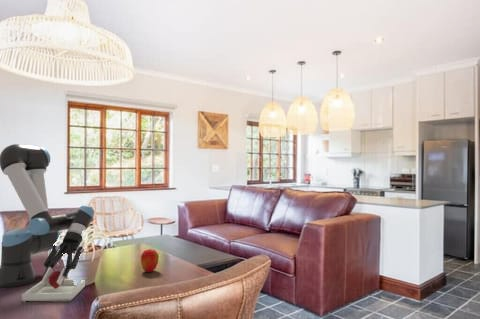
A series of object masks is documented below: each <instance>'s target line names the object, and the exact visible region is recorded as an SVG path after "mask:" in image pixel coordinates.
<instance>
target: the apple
mask: <svg viewBox="0 0 480 319" xmlns="http://www.w3.org/2000/svg"><path fill="white" fill-rule="evenodd" d="M159 257H160V256H159V253H158V252H157V250H155V249H146V250H144V251H143V252H142V254H141V256H140V264H141V267H142V270H143V271H145V273H151V272H153V271H155V270H156V268H157V266H158V264H159Z"/></svg>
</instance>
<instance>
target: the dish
mask: <svg viewBox="0 0 480 319" xmlns="http://www.w3.org/2000/svg"><path fill="white" fill-rule="evenodd" d="M70 279H71V278H64V282H63V284H62V285H61V286H59V287H58V288H57V289H55V288H53V287H52V286H51V285H50V284H49V280H48V282H47V284H46V285H44V284H43V283H42V282H41V281H39V282H38V283H37V284H35V285H33V286H32V287H31V288H30V289H28V290H26V291H25V292H23V293H21V302H22V301H53V302H71V301H72V300H73V299H74V298H75V297H76V296H77V295H78V294H79V293H80V292H81V291H82V290H83V289H84V288H85V287H86V286H85V280H81V281H80V282H79V283H78V284H77V285H74V283H73V282H74V281H73V280H70ZM53 302H52V303H53Z"/></svg>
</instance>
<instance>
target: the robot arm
mask: <svg viewBox="0 0 480 319" xmlns="http://www.w3.org/2000/svg"><path fill="white" fill-rule="evenodd" d="M50 163H51V155H50V153H49V151H48V150H47V149H46V148H45V147H43V146H42V147H41V146H38V145H27V144H26V145H25V144H17V143H14V144H10V145H8V146H6V147H5V148H3V150H1V152H0V170H1V171H2V173H3V174H4V176H7V177H8V179H9V181H10V183H11V185H12V187H13V189H14V190H15V192H16V194H17V196H18V198H19V199H20V202H21V204H22V206H23V208H24V209H25V211H26V213H27V215H28V220H29V222H28V225H27V227H25V228H24V227H22V228H21V227H20V228H16V229H12V230H8V231H6V232H5V233H4V234H3V235H2V238H1V239H2V241H1V243H0V244H1V256H0V259H1V260H0V288H12V287H13V288H14V287H18V286H24V285H27V284H30V283H32V282H34V281H35V280H36V273H35V270H34V267H33V264H32V256H33V255H37V254H40V253H45V252H49V251H50V252H49V255H48V256H47V258H46V260H45V262H44V263H43V266H44V267H45V268H46V269H45V270H44V272H43V278H42V279H41V281H40V282H42V283H43V284H44V285H46V284H47V282H48V280H49V278H50V276H51V274H53V273H54V267H56V265H57V263H59V261H60V260H62V258H63V257H64V256H63V254H65V253H67V254H66V255H67V257H66V264H65V267H63V268H62V270H61V271H60V272H61V274H60V276H59V278H58V280H57V284H58V285H61V284H62V282H63V280H64V279H66V278H67V277H68V275H69V272H70V271H71V270H75V269H76V268H77V265H78V263H79V261H80V258H79V256H80V254H81V253H82V254H83V252H84V251H85V248H84V247H83V245H81V244H82V242H83V239H82V236H81V234H82V231H83V230H86V229H87V228H89V226H90V224H91V222H92V220H93V219H94V215H95V210H94V209H93V207H90V206H88V205H81V206H79V207H78V209H77V211H73V212H69V213H63V214H56V215H51V214H50V212H49V204H48V198H47V190H46V181H45V173H46V172H47V170H48V169H47V168H48V167H49V165H50ZM66 230H67V231H66ZM87 230H88V229H87ZM61 231H66V233H65V235H64V237H63V238H62V242H61V243H60V244H59V245H57V246H55V245H54V246H53V244H54V243H55V242H56V241H57V239H58V237H59V235H61ZM80 243H81V244H80ZM80 245H81V246H80ZM62 253H63V254H62ZM72 253H74V255H73V259H72ZM82 254H81V255H82ZM62 256H63V257H62ZM80 257H81V256H80Z"/></svg>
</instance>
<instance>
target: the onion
mask: <svg viewBox="0 0 480 319" xmlns="http://www.w3.org/2000/svg"><path fill="white" fill-rule="evenodd" d="M61 272H62V271H60V270H59V269H56V268H55V271H53V272H52V274H51V276H50V278H49V284H50V285H51V286H52V287H53V288H55V289H57V288H58V287H59V286H61V285H62V284H63V282H64V280H63V282H62V284H61V285H58V284H57V280H58V278H59V276H60V274H61Z"/></svg>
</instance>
